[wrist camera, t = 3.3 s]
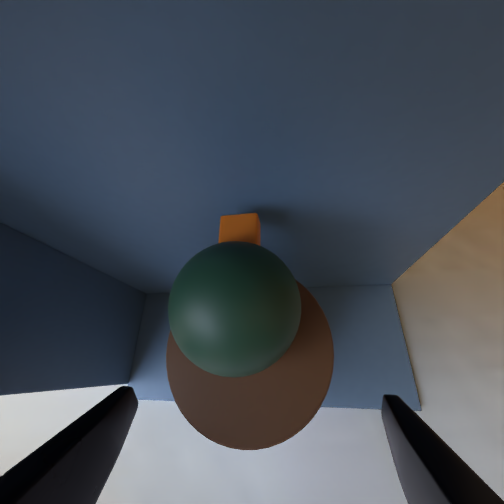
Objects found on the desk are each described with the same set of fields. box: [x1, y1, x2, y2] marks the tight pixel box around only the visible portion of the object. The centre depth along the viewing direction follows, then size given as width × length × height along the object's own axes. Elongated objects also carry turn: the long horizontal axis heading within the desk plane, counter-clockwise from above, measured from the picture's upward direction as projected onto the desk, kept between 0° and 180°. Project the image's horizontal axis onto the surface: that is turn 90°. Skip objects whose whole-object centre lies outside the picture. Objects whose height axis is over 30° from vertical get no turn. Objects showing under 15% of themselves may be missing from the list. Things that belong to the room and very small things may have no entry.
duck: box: [166, 213, 334, 450], centre depth 12 cm, size 7×6×14 cm
